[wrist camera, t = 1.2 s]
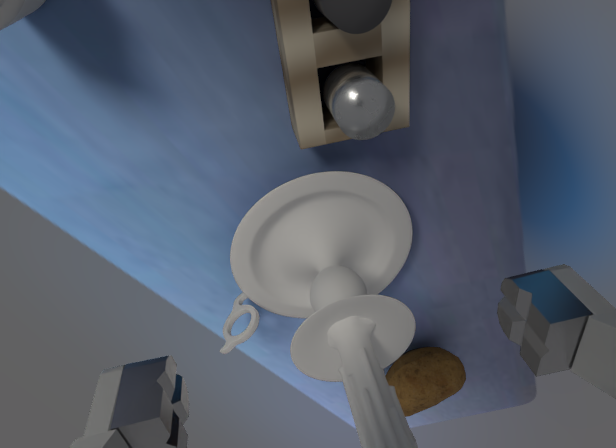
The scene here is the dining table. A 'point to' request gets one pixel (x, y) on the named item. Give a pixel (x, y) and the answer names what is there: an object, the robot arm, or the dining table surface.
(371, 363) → the candlestick
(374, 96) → the steel knob
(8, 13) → the eye dropper bottle
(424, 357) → the potato
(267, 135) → the dining table surface
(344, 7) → the black knob middle
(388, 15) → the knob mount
